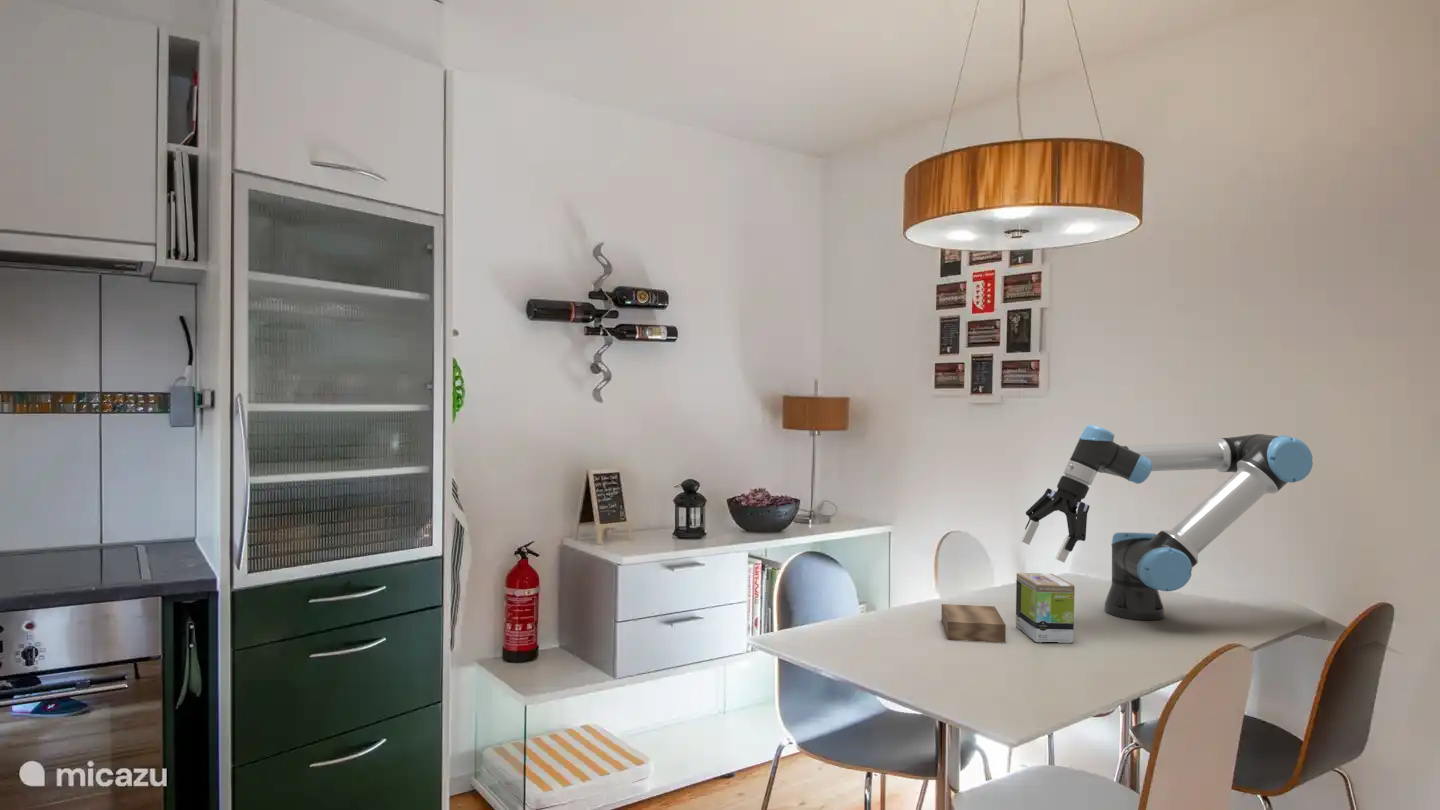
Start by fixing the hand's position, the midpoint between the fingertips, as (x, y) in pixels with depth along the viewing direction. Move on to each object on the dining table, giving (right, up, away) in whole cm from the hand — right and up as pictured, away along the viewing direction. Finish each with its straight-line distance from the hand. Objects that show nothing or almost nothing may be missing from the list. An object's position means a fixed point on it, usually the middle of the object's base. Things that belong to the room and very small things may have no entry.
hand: (1041, 551), depth 225 cm
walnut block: (-21, -20, -6) cm, 29 cm away
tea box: (-3, -20, -9) cm, 22 cm away
